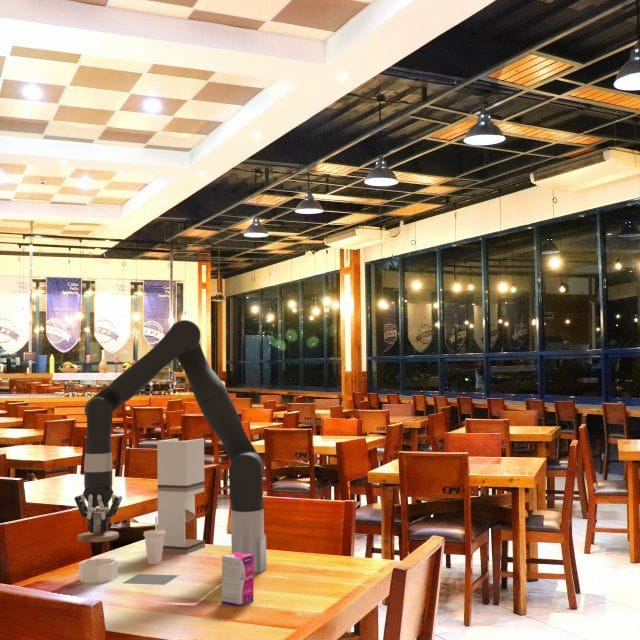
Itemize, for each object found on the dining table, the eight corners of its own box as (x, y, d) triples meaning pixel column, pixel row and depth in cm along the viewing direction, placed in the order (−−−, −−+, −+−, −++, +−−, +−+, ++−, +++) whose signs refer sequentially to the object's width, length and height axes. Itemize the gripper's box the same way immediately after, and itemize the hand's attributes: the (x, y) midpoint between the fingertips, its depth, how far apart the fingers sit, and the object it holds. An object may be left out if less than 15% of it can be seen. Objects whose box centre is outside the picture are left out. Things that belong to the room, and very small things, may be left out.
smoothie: (163, 567, 242) (162, 518, 243) (141, 567, 242) (141, 518, 243) (167, 562, 248) (167, 514, 249) (146, 562, 248) (146, 515, 249)
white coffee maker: (187, 553, 259) (186, 441, 262) (158, 551, 263) (157, 441, 265) (205, 546, 270) (203, 438, 272) (176, 544, 274) (175, 438, 276)
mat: (178, 577, 229) (178, 575, 229) (164, 586, 219) (164, 584, 219) (138, 576, 231) (138, 574, 231) (122, 585, 221) (122, 583, 221)
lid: (125, 534, 232) (125, 509, 233) (107, 542, 221) (107, 516, 222) (89, 533, 234) (89, 508, 235) (70, 541, 224) (70, 515, 224)
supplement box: (240, 607, 198) (239, 558, 199) (221, 603, 202) (220, 555, 202) (254, 601, 203) (254, 553, 204) (235, 598, 206) (235, 551, 207)
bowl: (122, 576, 231) (122, 558, 231) (106, 585, 221) (106, 566, 222) (90, 575, 233) (90, 557, 233) (73, 584, 223) (73, 565, 224)
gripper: (127, 468, 231) (127, 530, 230) (81, 467, 234) (81, 529, 233) (115, 471, 224) (115, 535, 223) (68, 470, 227) (68, 534, 226)
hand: (98, 532), depth 228 cm, fingers closed on lid, 2 cm apart
